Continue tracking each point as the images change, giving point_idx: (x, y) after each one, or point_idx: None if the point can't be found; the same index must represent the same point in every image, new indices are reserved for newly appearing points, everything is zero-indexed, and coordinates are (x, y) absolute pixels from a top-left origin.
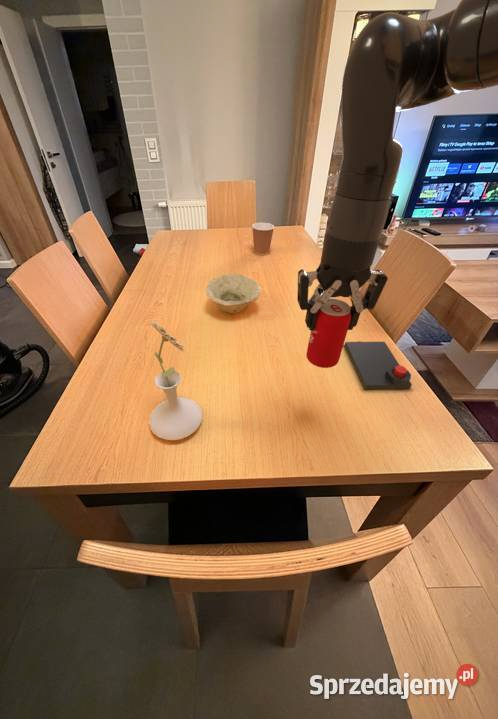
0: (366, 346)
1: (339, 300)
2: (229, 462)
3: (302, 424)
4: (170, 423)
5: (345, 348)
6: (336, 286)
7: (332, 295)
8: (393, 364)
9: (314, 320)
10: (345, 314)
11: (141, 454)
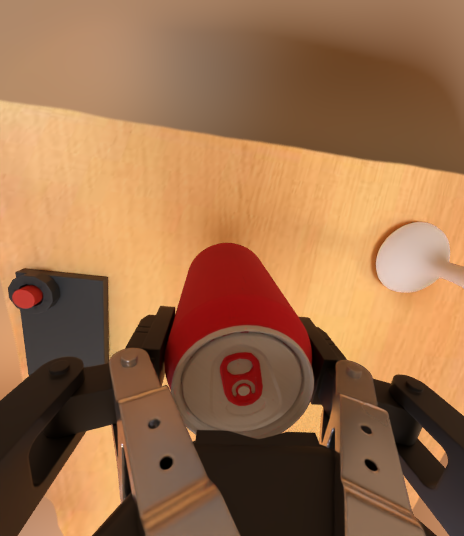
0: None
1: None
2: (353, 179)
3: (232, 225)
4: (436, 240)
5: None
6: (375, 531)
7: (311, 445)
8: (32, 320)
9: (316, 339)
10: (216, 332)
11: (456, 212)
